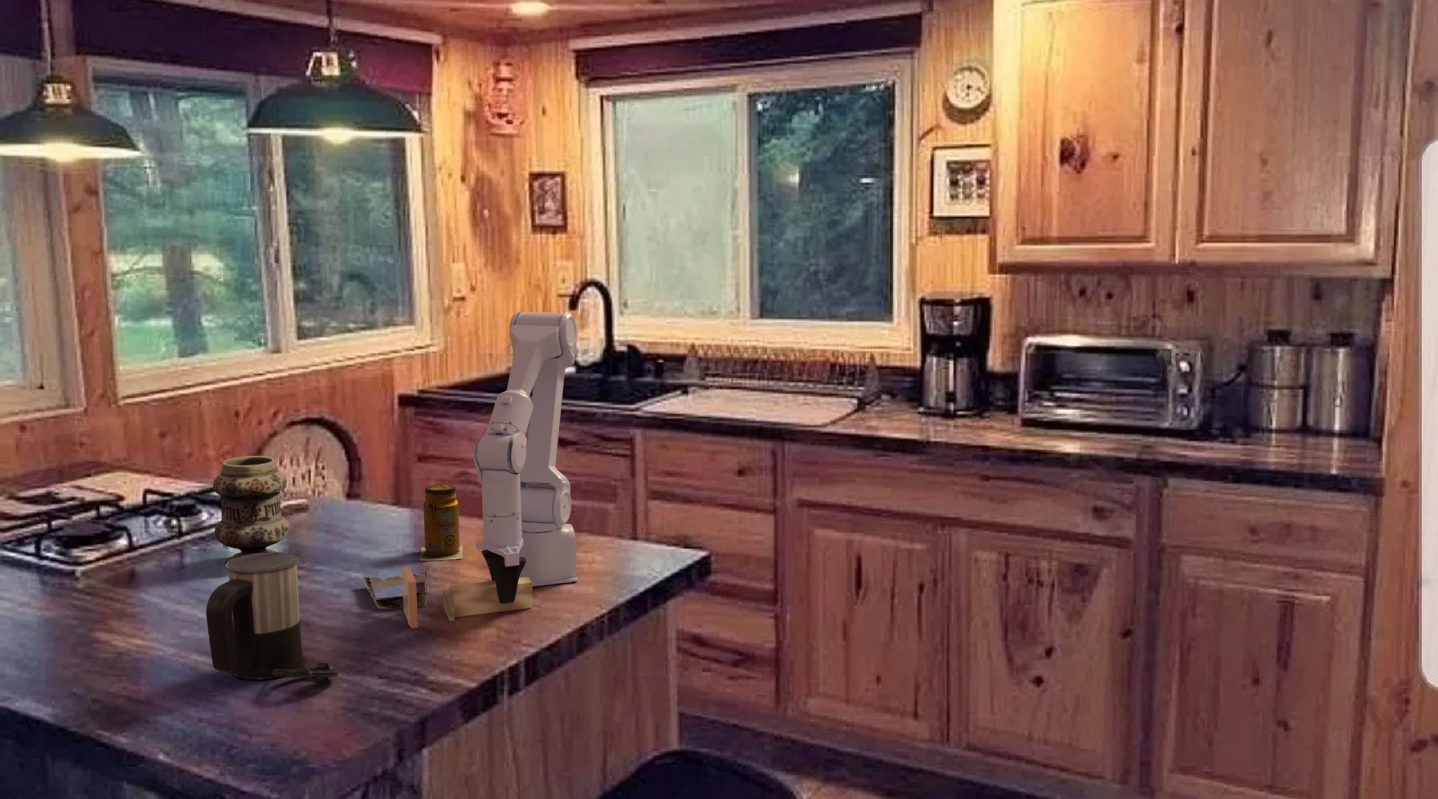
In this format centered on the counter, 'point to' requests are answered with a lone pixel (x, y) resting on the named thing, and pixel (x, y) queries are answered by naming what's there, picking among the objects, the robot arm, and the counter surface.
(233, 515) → the apothecary jar
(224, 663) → the milk frother
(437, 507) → the condiment
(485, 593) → the wooden block
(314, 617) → the counter surface
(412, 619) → the tile
